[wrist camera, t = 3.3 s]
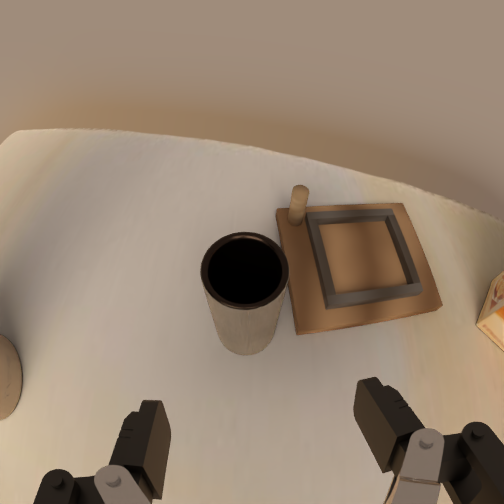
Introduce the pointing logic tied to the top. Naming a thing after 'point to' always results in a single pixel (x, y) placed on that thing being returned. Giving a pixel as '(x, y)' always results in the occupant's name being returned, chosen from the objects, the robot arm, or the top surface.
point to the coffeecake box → (494, 312)
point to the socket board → (353, 264)
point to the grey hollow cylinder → (245, 289)
